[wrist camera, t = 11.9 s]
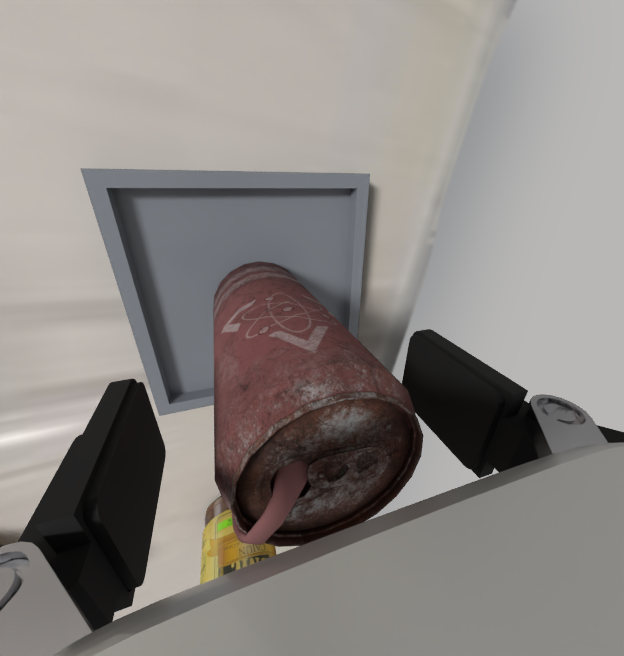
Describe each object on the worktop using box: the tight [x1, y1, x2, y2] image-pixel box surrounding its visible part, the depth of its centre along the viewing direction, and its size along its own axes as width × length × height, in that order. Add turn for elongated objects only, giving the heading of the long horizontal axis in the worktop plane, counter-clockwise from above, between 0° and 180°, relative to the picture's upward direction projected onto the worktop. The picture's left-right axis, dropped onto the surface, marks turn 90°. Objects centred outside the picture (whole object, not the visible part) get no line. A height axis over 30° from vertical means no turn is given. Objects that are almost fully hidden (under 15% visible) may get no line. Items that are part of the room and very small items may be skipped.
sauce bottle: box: [200, 496, 276, 584], centre depth 19 cm, size 6×6×20 cm
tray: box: [81, 169, 370, 416], centre depth 19 cm, size 15×15×2 cm
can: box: [213, 261, 423, 547], centre depth 13 cm, size 6×6×14 cm
